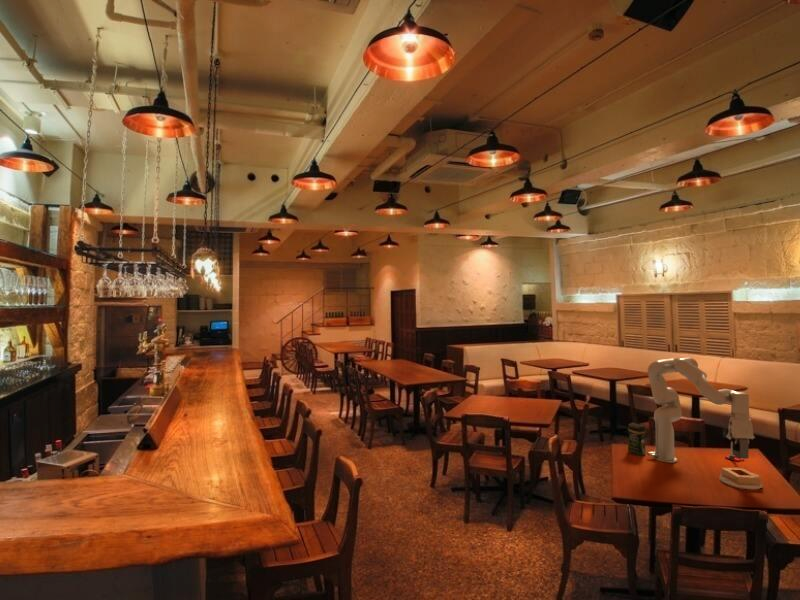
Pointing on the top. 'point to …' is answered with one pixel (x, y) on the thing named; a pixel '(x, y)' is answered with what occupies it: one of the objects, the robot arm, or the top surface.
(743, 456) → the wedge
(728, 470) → the beige piece
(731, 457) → the tow hook
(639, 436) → the coffee jar
